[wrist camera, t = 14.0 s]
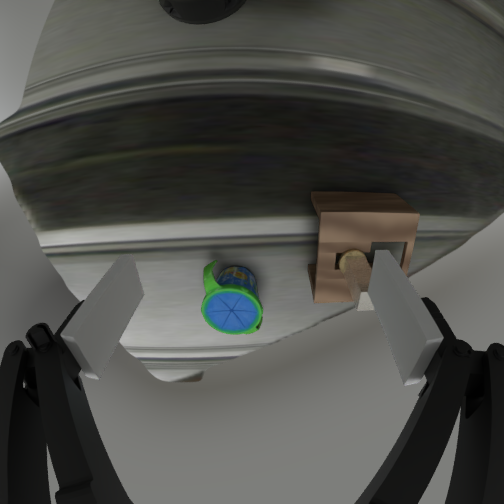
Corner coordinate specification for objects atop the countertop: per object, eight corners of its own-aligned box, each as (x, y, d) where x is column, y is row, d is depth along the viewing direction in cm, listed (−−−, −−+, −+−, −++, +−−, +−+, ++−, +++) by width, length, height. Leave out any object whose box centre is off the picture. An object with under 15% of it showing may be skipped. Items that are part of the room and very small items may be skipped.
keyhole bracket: (311, 191, 48) (320, 212, 39) (395, 193, 46) (419, 213, 38) (307, 271, 55) (314, 303, 46) (383, 268, 54) (400, 298, 45)
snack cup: (194, 259, 55) (181, 290, 46) (241, 238, 53) (235, 267, 44) (233, 315, 62) (227, 349, 53) (277, 299, 59) (278, 333, 50)
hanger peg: (329, 227, 47) (354, 285, 32) (357, 227, 47) (391, 284, 32) (327, 253, 50) (348, 317, 35) (353, 253, 49) (383, 314, 34)
